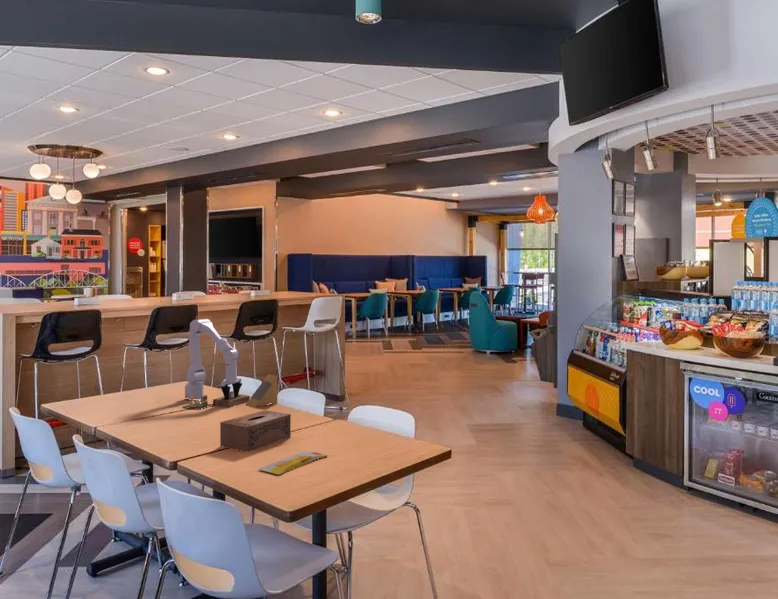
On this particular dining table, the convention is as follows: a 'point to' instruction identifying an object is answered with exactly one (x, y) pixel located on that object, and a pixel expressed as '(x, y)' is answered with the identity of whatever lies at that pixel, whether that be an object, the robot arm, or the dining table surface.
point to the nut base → (197, 401)
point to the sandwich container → (265, 392)
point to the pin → (231, 395)
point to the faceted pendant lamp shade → (199, 404)
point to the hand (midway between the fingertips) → (231, 397)
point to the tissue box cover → (255, 430)
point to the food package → (291, 462)
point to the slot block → (231, 401)
